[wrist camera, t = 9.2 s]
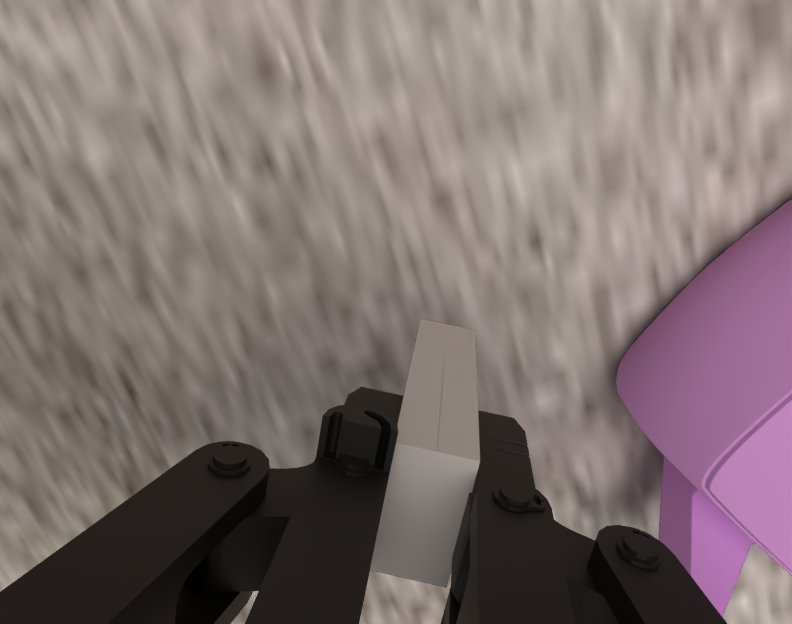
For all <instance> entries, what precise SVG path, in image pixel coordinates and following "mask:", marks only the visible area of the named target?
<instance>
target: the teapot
mask: <svg viewBox="0 0 792 624" xmlns="http://www.w3.org/2000/svg"><path fill="white" fill-rule="evenodd" d="M616 385H617V391H618V395H619V396H620V398H621V400H622V402H623V404H624V405H625V407H626V408H627V410H628V411H629V413H630V414H631V416H632V417H633V418H634V420H635V421H636V423H637V424H638V426H639V427H640V428H641V430H642V431H643V432H644V434H645V435H646V436H647V437H648V439H649V440H650V441H651V442H652V443H653V444H654V446H655V447H656V448H657V449H658V450H659V451H660V452H661V453H662V454H663V455H664V456H665V457H664V461H663V477H662V492H661V507H660V522H659V537H658V540H659V541H660V542H662V543H663V544H664V545H665V546H666V547H667V548H668V549H669V550H670V551H671V552H672V553H673V554H674V555H675V556H676V557H677V558H678V560H679V561H680V562H681V564H682V565H683V566H684V568H685V569H686V570H687V572H688V573H689V574H690V575H691V577H692V578H693V579H694V581H695V582H696V583H697V585H698V586H699V587H700V589H701V590H702V591H703V593H704V594H705V595H706V596H707V598H708V599H709V600H710V602H711V603H712V604H713V606H714V607H715V608H716V610H717V611H718V612H719V614H720V615H721V616H722V617H723V614H724V612H725V609H726V607H727V604H728V602H729V599H730V597H731V594H732V592H733V589H734V587H735V584H736V582H737V579H738V577H739V574H740V572H741V569H742V567H743V564H744V562H745V559H746V557H747V554H748V552H749V549H750V547H751V545H752V544H753V543H755V544H757V545H758V546H759V547H760V548H761V549H762V550H763V551H764V552H765V553H766V554H768V555H769V556H770V557H771V558H772V559H773V560H774V561H775V562H777V563H778V564H779V565H780V566H781V567H782V568H783V569H785V570H786V571H787V572H788V573H789V574H790V575H791V576H792V199H790V200H789V201H788V202H786V203H785V204H784V205H782V206H781V207H780V208H778V209H777V210H776V211H774V212H773V213H772V214H771V215H769V216H768V217H767V218H765V219H764V220H763V221H761V222H760V223H759V224H758V225H756V226H755V227H754V228H752V229H751V230H750V231H749V232H747V233H746V234H745V235H743V236H742V237H741V238H740V239H738V240H737V241H736V242H735V243H734V244H732V245H731V246H730V247H729V248H727V249H726V250H725V251H724V252H723V253H721V254H720V255H719V256H718V257H717V258H716V259H715V260H713V261H712V262H711V263H710V264H709V265H708V266H707V267H706V268H705V269H703V270H702V271H701V272H700V273H699V274H698V275H697V276H696V277H695V278H694V279H693V280H692V281H691V282H690V283H689V284H688V285H687V286H686V287H685V288H684V289H683V290H682V291H681V292H680V293H679V294H678V295H677V296H676V297H675V298H674V299H673V300H672V301H671V302H670V304H669V305H668V306H667V307H666V308H665V309H664V310H663V311H662V312H661V313H660V314H659V315H658V316H657V317H656V318H655V319H654V321H653V322H652V323H651V324H650V325H649V326H648V327H647V328H646V329H645V330H644V331H643V332H642V334H641V335H640V336H639V337H638V338H637V340H636V341H635V342H634V343H633V344H632V345H631V347H630V348H629V349H628V351H627V352H626V354H625V355H624V357H623V358H622V360H621V362H620V364H619V367H618V371H617V379H616Z"/></svg>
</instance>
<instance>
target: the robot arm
mask: <svg viewBox="0 0 792 624" xmlns="http://www.w3.org/2000/svg"><path fill="white" fill-rule="evenodd" d="M451 569H452V576H451V588H450V592H449V595H448V599H447V603H446V607H445V610H444V614H443V618H442V621H441V624H727V623H726V621H725V620H724V619H723V617H722V616H721V615H720V614H719V612H718V611H717V610H716V608H715V607H714V606H713V604H712V603H711V602H710V600H709V599H708V598H707V596H706V595H705V594H704V593H703V591H702V590H701V589H700V587H699V586H698V585H697V583H696V582H695V581H694V579H693V578H692V577H691V575H690V574H689V573H688V572H687V570H686V569H685V568H684V566H683V565H682V564H681V562H680V561H679V560H678V558H677V557H676V556H675V555H674V554H673V553H672V552H671V551H670V550H669V549H668V548H667V547H666V546H665V545H664V544H663V543H662V542H660V541H659V540H657V539H656V538H654V537H653V536H651V535H650V534H648V533H646V532H644V531H641V530H639V529H636V528H631V527H626V526H621V525H614V526H606V527H605V528H603V529H601V530H600V531H599V532H598V535H597V538H596V541H595V540H592V539H590V538H588V537H585V536H583V535H581V534H578V533H576V532H574V531H572V530H570V529H568V528H566V527H564V526H562V525H561V524H559V523H558V522H556V521H555V520H554V518H553V513H552V508H551V506H550V504H549V502H548V500H547V499H546V498H545V497H544V496H543V495H542V494H541V493H540V492H539V491H538V490H536V489H535V484H534V479H533V473H532V468H531V462H530V458H529V451H528V447H527V440H526V435H525V431H524V430H523V429H522V427H521V426H520V425H519V424H518V423H517V421H516V420H515V419H514V418H510V417H506V416H501V415H497V414H492V413H487V412H483V411H478V394H477V369H476V343H475V330H471V329H467V328H462V327H457V326H452V325H448V324H443V323H438V322H434V321H429V320H424V319H420V324H419V328H418V333H417V337H416V342H415V347H414V351H413V356H412V360H411V365H410V369H409V374H408V379H407V383H406V388H405V392H404V396H401V395H397V394H392V393H387V392H383V391H378V390H374V389H369V388H364V387H360V388H359V389H357V390H356V391H354V392H352V393H351V394H349V395H348V397H347V400H346V402H345V405H340V406H337V407H334V408H331V409H329V410H328V411H327V412H326V413H325V414H324V415H323V419H322V425H321V431H320V437H319V443H318V449H317V455H316V458H315V461H314V463H312V464H310V465H307V466H303V467H299V468H289V469H269V459H268V458H267V457H266V456H265V454H264V453H263V452H262V451H261V450H259V449H257V448H255V447H253V446H252V445H248V444H244V443H240V442H233V441H232V442H230V441H224V442H217V443H212V444H207V445H205V446H203V447H201V448H199V449H197V450H195V451H194V452H193V453H191V454H190V455H188V456H187V457H186V458H184V459H183V460H182V461H180V462H179V463H177V464H176V465H175V466H173V467H172V468H171V469H169V470H168V471H166V472H165V473H164V474H162V475H161V476H160V477H158V478H157V479H155V480H154V481H153V482H151V483H150V484H148V485H147V486H146V487H144V488H143V489H142V490H140V491H139V492H137V493H136V494H135V495H133V496H132V497H131V498H129V499H128V500H126V501H125V502H124V503H122V504H121V505H120V506H118V507H117V508H115V509H114V510H113V511H111V512H110V513H108V514H107V515H106V516H104V517H103V518H102V519H100V520H99V521H97V522H96V523H95V524H93V525H92V526H91V527H89V528H88V529H86V530H85V531H84V532H82V533H81V534H80V535H78V536H77V537H75V538H74V539H73V540H71V541H70V542H68V543H67V544H66V545H64V546H63V547H62V548H60V549H59V550H57V551H56V552H55V553H53V554H52V555H51V556H49V557H48V558H46V559H45V560H44V561H42V562H41V563H40V564H38V565H37V566H35V567H34V568H33V569H31V570H30V571H28V572H27V573H26V574H24V575H23V576H22V577H20V578H19V579H17V580H16V581H15V582H13V583H12V584H11V585H9V586H8V587H6V588H5V589H4V590H2V591H1V592H0V624H230V623H231V622H232V621H233V620H234V618H235V617H236V616H237V615H238V614H239V612H240V611H241V610H242V609H243V607H244V606H245V605H246V604H247V602H248V600H249V598H250V596H251V594H252V592H253V591H259V592H258V594H257V597H256V599H255V601H254V604H253V606H252V609H251V611H250V613H249V616H248V618H247V620H246V623H245V624H359V620H360V615H361V610H362V606H363V601H364V596H365V591H366V586H367V581H368V576H369V572H370V570H372V571H376V572H380V573H385V574H389V575H393V576H398V577H402V578H406V579H411V580H415V581H419V582H424V583H428V584H433V585H437V586H441V587H446V588H447V584H448V581H449V577H450V573H451Z"/></svg>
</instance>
